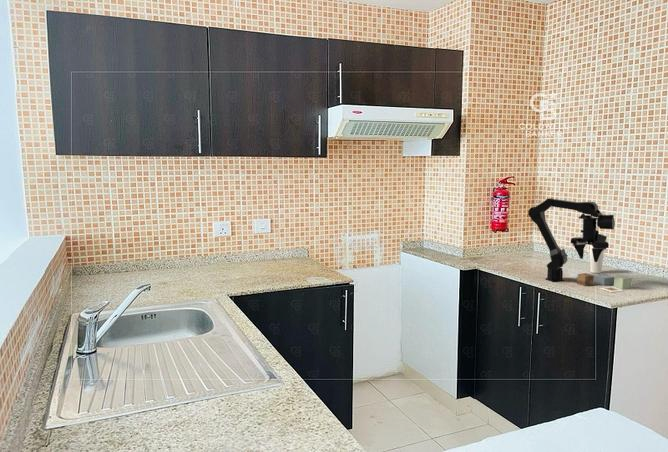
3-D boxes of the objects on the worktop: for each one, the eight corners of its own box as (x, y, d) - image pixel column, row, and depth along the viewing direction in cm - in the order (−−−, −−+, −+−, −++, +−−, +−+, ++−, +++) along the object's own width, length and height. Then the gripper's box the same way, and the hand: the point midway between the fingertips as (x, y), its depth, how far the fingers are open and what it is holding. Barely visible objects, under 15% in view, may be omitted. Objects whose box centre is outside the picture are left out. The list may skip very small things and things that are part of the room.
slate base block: (603, 286, 240) (604, 278, 239) (592, 282, 246) (593, 275, 246) (615, 285, 242) (616, 277, 241) (604, 281, 248) (604, 273, 248)
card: (611, 292, 228) (611, 291, 228) (599, 288, 234) (599, 287, 234) (623, 291, 229) (623, 290, 229) (611, 287, 236) (611, 286, 236)
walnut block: (584, 286, 239) (585, 276, 239) (577, 283, 244) (577, 273, 244) (593, 285, 241) (594, 275, 240) (585, 283, 245) (586, 273, 245)
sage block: (622, 289, 233) (622, 279, 232) (613, 286, 238) (614, 276, 237) (631, 288, 234) (631, 278, 233) (622, 286, 239) (623, 275, 238)
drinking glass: (598, 270, 271) (599, 243, 269) (605, 273, 264) (607, 245, 262) (586, 271, 271) (587, 243, 269) (592, 273, 264) (594, 246, 262)
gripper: (619, 229, 232) (617, 262, 234) (589, 225, 250) (588, 256, 252) (598, 230, 229) (597, 264, 231) (570, 226, 247) (569, 257, 249)
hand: (588, 260), depth 241 cm, fingers open, 9 cm apart
